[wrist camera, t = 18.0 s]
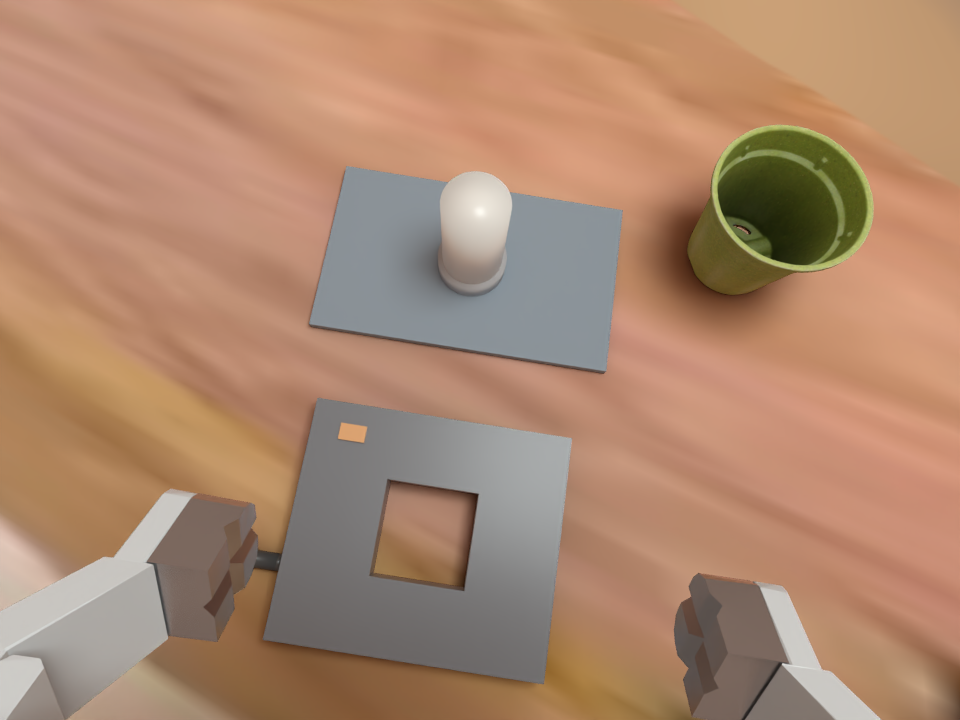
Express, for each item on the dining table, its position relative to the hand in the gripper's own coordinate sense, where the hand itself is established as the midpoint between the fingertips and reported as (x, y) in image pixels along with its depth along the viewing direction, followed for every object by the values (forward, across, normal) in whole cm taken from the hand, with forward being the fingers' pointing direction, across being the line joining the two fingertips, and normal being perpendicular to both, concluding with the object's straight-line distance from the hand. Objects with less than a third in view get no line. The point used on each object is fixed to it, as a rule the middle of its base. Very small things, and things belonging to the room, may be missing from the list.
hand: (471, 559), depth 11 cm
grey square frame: (+19, +4, +20) cm, 28 cm away
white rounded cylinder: (+31, +2, +7) cm, 32 cm away
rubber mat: (+32, +2, +7) cm, 32 cm away
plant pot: (+35, -16, +4) cm, 38 cm away
